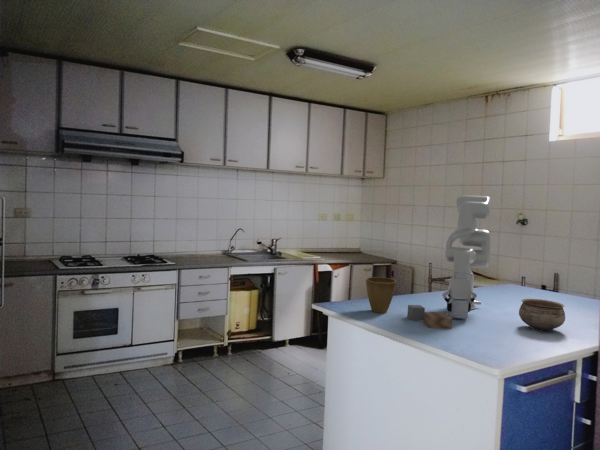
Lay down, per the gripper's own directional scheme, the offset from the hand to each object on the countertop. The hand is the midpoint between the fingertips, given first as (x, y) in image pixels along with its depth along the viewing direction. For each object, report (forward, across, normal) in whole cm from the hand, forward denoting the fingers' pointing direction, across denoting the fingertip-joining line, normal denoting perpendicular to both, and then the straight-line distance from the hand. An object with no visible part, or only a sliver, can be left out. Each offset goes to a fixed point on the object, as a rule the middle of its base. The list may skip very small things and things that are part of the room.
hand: (458, 311), depth 230 cm
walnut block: (+4, +15, +12) cm, 20 cm away
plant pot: (+4, +35, -12) cm, 38 cm away
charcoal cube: (+4, +21, +1) cm, 22 cm away
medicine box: (+3, 0, 0) cm, 3 cm away
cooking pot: (+4, -32, +16) cm, 36 cm away
